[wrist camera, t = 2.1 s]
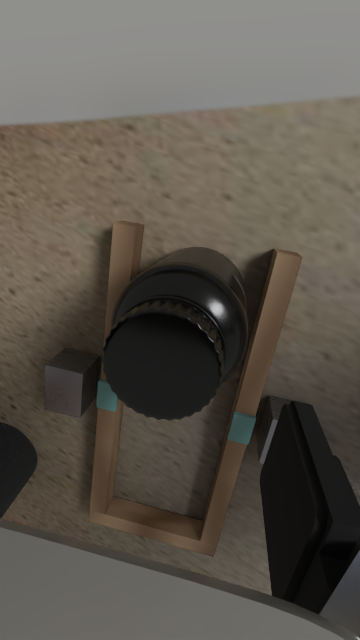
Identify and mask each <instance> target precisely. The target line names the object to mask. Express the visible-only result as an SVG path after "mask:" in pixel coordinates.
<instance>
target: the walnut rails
mask: <svg viewBox="0 0 360 640" xmlns="http://www.w3.org/2000/svg"><path fill="white" fill-rule="evenodd" d="M143 231H144V225H143V224H137V223H132V222H126V221H120V222H113V232H112V244H111V256H110V268H109V281H108V293H107V305H106V317H105V329H104V342H103V347H104V345H105V339H106V337H107V336H108V335H109V334H110V330H111V319H112V313H113V309H114V306H115V303H116V301H117V299H118V297H119V295H120V293H121V292H122V290H123V289H124V288H125V286H126V285H127V284H128V283H129V282H130V281H131V280H132V279H134V278H135V277H136V276H137V275H138V274H139V265H140V257H141V248H142V239H143ZM301 260H302V257H301V256H300V255H299V254H298V253H295V252H290V251H284V250H279V249H274V251H273V254H272V258H271V262H270V266H269V270H268V274H267V277H266V281H265V285H264V289H263V293H262V296H261V300H260V304H259V308H258V312H257V315H256V319H255V323H254V327H253V331H252V334H251V338H250V342H249V346H248V350H247V353H246V357H245V361H244V365H243V369H242V373H241V376H240V380H239V384H238V388H237V392H236V395H235V399H234V403H233V407H232V411H231V414H230V418H229V422H228V426H227V430H226V433H225V437H224V441H223V445H222V449H221V453H220V456H219V460H218V464H217V468H216V472H215V475H214V479H213V483H212V487H211V491H210V494H209V498H208V502H207V506H206V510H205V513H204V517H203V521H201V520H197V519H194V518H190V517H187V516H183V515H179V514H176V513H172V512H168V511H165V510H161V509H157V508H154V507H150V506H146V505H143V504H139V503H136V502H132V501H128V500H125V499H121V498H117V497H114V496H113V490H114V482H115V473H116V464H117V456H118V447H119V438H120V430H121V421H122V412H123V404H124V402H123V401H121V400H119V399H118V397H117V395H116V394H115V393H114V392H113V391H112V390H111V387H110V384H109V383H108V382H107V381H106V375H105V373H104V372H103V366H104V365H103V363H102V366H101V378H100V380H99V381H98V390H97V403H96V407H97V408H98V415H97V427H96V439H95V451H94V464H93V476H92V488H91V500H90V512H89V522H93V523H96V524H100V525H103V526H107V527H110V528H114V529H117V530H121V531H124V532H128V533H131V534H135V535H138V536H142V537H145V538H149V539H152V540H156V541H159V542H163V543H166V544H170V545H173V546H177V547H180V548H184V549H187V550H191V551H194V552H198V553H202V554H205V555H209V556H212V557H214V553H215V550H216V547H217V543H218V540H219V537H220V533H221V530H222V527H223V523H224V520H225V516H226V513H227V510H228V506H229V503H230V500H231V496H232V493H233V489H234V486H235V483H236V479H237V476H238V473H239V469H240V466H241V463H242V459H243V456H244V452H245V449H246V446H247V445H248V444H249V441H250V438H251V434H252V431H253V428H254V424H255V421H256V416H255V415H256V412H257V409H258V405H259V402H260V399H261V395H262V392H263V388H264V385H265V382H266V378H267V375H268V372H269V368H270V365H271V361H272V358H273V355H274V351H275V348H276V345H277V341H278V338H279V335H280V331H281V328H282V324H283V321H284V318H285V314H286V311H287V308H288V304H289V301H290V297H291V294H292V291H293V287H294V284H295V281H296V277H297V274H298V271H299V267H300V264H301ZM102 357H103V354H102Z"/></svg>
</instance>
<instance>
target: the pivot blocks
mask: <svg viewBox="0 0 360 640" xmlns="http://www.w3.org/2000/svg"><path fill="white" fill-rule="evenodd" d="M98 365H99V356H95V355H91V354H87V353H82V352H78V351H74V350H69V349H64V350H63V351H61V352H60V353H59V354H58V355H57V356H55V357H54V358H53V359H52V360H51V361H49V362H48V363H47V364H46V365H45V409H46V410H50V411H54V412H58V413H62V414H66V415H70V416H74V417H78V418H81V417H82V415H83V414H84V412H85V411H86V410H87V408H88V407H89V406H90V404H91V403H92V402H93V400H94V399H95V398H96V391H97V378H98ZM290 402H291V400H287V399H283V398H278V397H274V396H270V395H269V398H268V401H267V404H266V407H265V411H264V414H263V417H262V420H261V424H260V427H259V430H258V433H257V446H258V458H259V463H261V464H264V461H265V458H266V455H267V452H268V449H269V446H270V443H271V440H272V437H273V434H274V431H275V428H276V425H277V422H278V419H279V416H280V413H281V410H282V407H283V405H284V404H288V405H289V404H290Z"/></svg>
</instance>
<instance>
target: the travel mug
mask: <svg viewBox="0 0 360 640" xmlns="http://www.w3.org/2000/svg"><path fill="white" fill-rule="evenodd" d="M36 465H37V455H36V452H35V449H34V447H33V445H32V444H31V442H30V441H29V440H28V439H27V437H26V436H25V435H24V434H22V433H21V432H20V431H19V430H17V429H15V428H14V427H12V426H9V425H7V424H3V423H0V519H1V518H2V516H3V515H4V513H5V512H6V511H7V509H8V508H9V506H10V505H11V504H12V502H13V501H14V499H15V498H16V497H17V495H18V494H19V492H20V491H21V490H22V488H23V487H24V485H25V484H26V482H27V481H28V480H29V478H30V477H31V475H32V474H33V472H34V470H35V468H36Z"/></svg>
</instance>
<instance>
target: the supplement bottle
mask: <svg viewBox="0 0 360 640" xmlns="http://www.w3.org/2000/svg"><path fill="white" fill-rule="evenodd" d="M247 341H248V317H247V305H246V293H245V286H244V282H243V279H242V277H241V274H240V272H239V271H238V269H237V268H236V266H235V265H234V264H233V263H232V262H231V261H230V260H229V259H228V258H227V257H226V256H224V255H223V254H221V253H219V252H217V251H215V250H212V249H209V248H204V247H190V248H185V249H181V250H178V251H176V252H174V253H172V254H170V255H169V256H167V257H165V258H164V259H162V260H160V261H159V262H157V263H156V264H154V265H152V266H151V267H149V268H148V269H146V270H144V271H143V272H141V273H140V274H138V275H137V276H136V277H135V278H134V279H132V280H131V281H130V282H129V283H128V284H127V285H126V286H125V288H124V289H123V290H122V292H121V293H120V295H119V297H118V299H117V301H116V303H115V306H114V309H113V313H112V319H111V330H110V334H109V335H108V336H107V337H106V339H105V345H104V347H103V349H102V351H103V357H102V363H103V365H104V366H103V372H104V373H105V375H106V381H107V382H108V383H109V384H110V387H111V390H112V391H113V392H114V393H115V394H116V395H117V397H118V399H119V400H121V401H123V402H124V403H125V405H126V406H127V407H129V408H132V409H133V410H134V411H136V412H137V413H141V414H144V415H145V416H146V417H154V418H155V419H158V420H159V419H166V420H172V419H182V418H183V417H186V416H191V415H193V414H194V413H195V412H199V411H201V409H202V408H203V407H204V406H206V405H208V404H209V402H210V399H212V398H213V397H215V395H216V391H217V389H218V388H219V387H220V385H221V384H222V383H223V382H225V381H226V380H227V379H228V378H229V377H230V376H231V375H232V374H233V373H234V372H235V370H236V369H237V367H238V366H239V364H240V363H241V361H242V359H243V356H244V354H245V350H246V347H247Z"/></svg>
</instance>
